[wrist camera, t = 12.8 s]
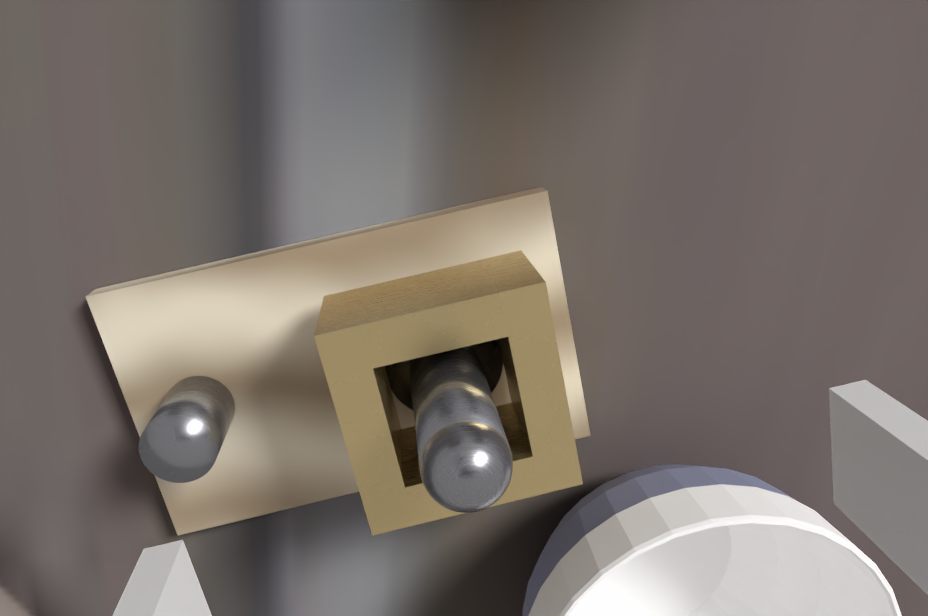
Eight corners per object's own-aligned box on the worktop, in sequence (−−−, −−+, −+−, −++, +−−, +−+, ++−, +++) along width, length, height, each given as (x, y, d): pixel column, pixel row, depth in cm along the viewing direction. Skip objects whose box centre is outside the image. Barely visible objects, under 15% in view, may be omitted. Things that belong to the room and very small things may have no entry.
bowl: (695, 703, 44) (778, 870, 35) (444, 623, 40) (463, 784, 31) (845, 474, 40) (981, 592, 31) (582, 364, 37) (650, 460, 28)
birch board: (95, 288, 33) (85, 296, 32) (541, 186, 34) (547, 190, 33) (183, 521, 37) (177, 535, 36) (584, 424, 38) (590, 435, 36)
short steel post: (156, 384, 34) (127, 424, 30) (223, 368, 34) (203, 406, 30) (178, 444, 34) (153, 490, 31) (243, 428, 35) (227, 473, 31)
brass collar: (323, 295, 32) (313, 336, 27) (521, 250, 32) (545, 281, 27) (373, 471, 34) (372, 535, 29) (555, 427, 34) (582, 484, 30)
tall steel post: (370, 309, 34) (365, 433, 22) (485, 283, 34) (540, 391, 22) (398, 414, 35) (407, 580, 24) (508, 388, 35) (569, 540, 24)
